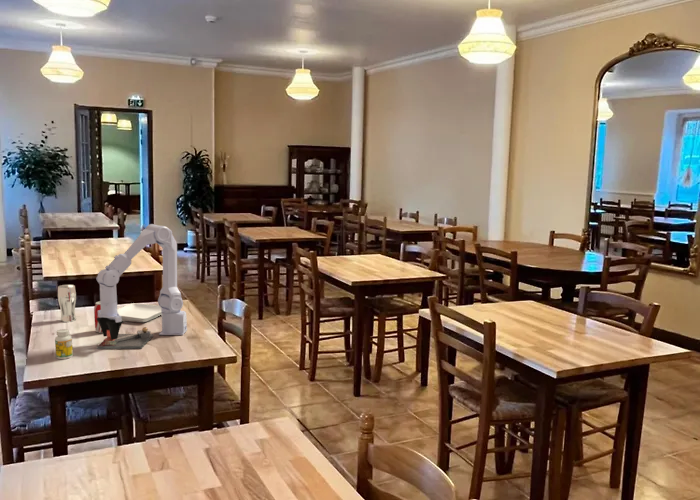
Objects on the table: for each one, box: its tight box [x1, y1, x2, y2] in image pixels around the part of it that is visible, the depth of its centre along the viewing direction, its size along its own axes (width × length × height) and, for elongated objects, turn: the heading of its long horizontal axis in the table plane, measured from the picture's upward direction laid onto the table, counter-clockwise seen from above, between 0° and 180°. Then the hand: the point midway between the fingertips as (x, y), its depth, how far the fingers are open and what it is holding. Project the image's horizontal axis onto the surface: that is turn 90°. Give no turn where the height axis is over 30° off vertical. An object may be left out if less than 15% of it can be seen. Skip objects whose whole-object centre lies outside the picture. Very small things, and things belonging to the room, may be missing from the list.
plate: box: [96, 326, 154, 350], centre depth 232 cm, size 16×16×5 cm
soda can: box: [93, 300, 103, 334], centre depth 245 cm, size 7×7×12 cm
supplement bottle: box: [54, 328, 74, 360], centre depth 214 cm, size 5×5×10 cm
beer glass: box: [57, 284, 77, 323], centre depth 261 cm, size 7×7×15 cm
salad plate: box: [117, 302, 162, 323], centre depth 269 cm, size 21×21×3 cm
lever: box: [106, 329, 152, 343], centre depth 233 cm, size 17×3×5 cm, turn 140°
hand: (110, 337), depth 228 cm, fingers open, 5 cm apart
